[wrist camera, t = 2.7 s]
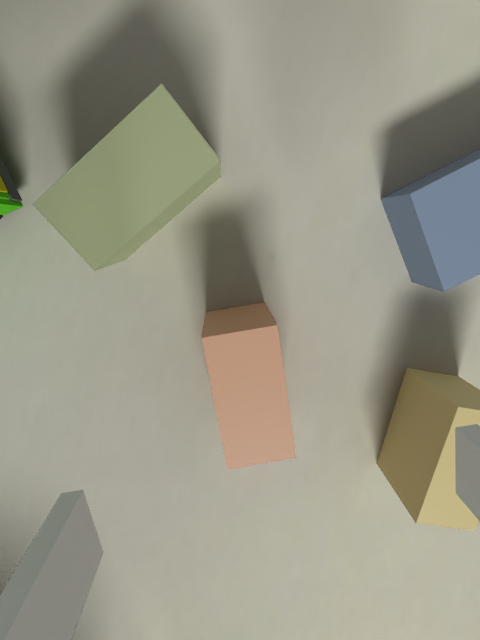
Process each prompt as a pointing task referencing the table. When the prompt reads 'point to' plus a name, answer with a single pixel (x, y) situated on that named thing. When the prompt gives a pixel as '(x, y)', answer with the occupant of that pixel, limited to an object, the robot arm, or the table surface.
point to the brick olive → (131, 182)
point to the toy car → (8, 192)
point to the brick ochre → (429, 446)
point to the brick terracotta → (248, 385)
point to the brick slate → (439, 224)
